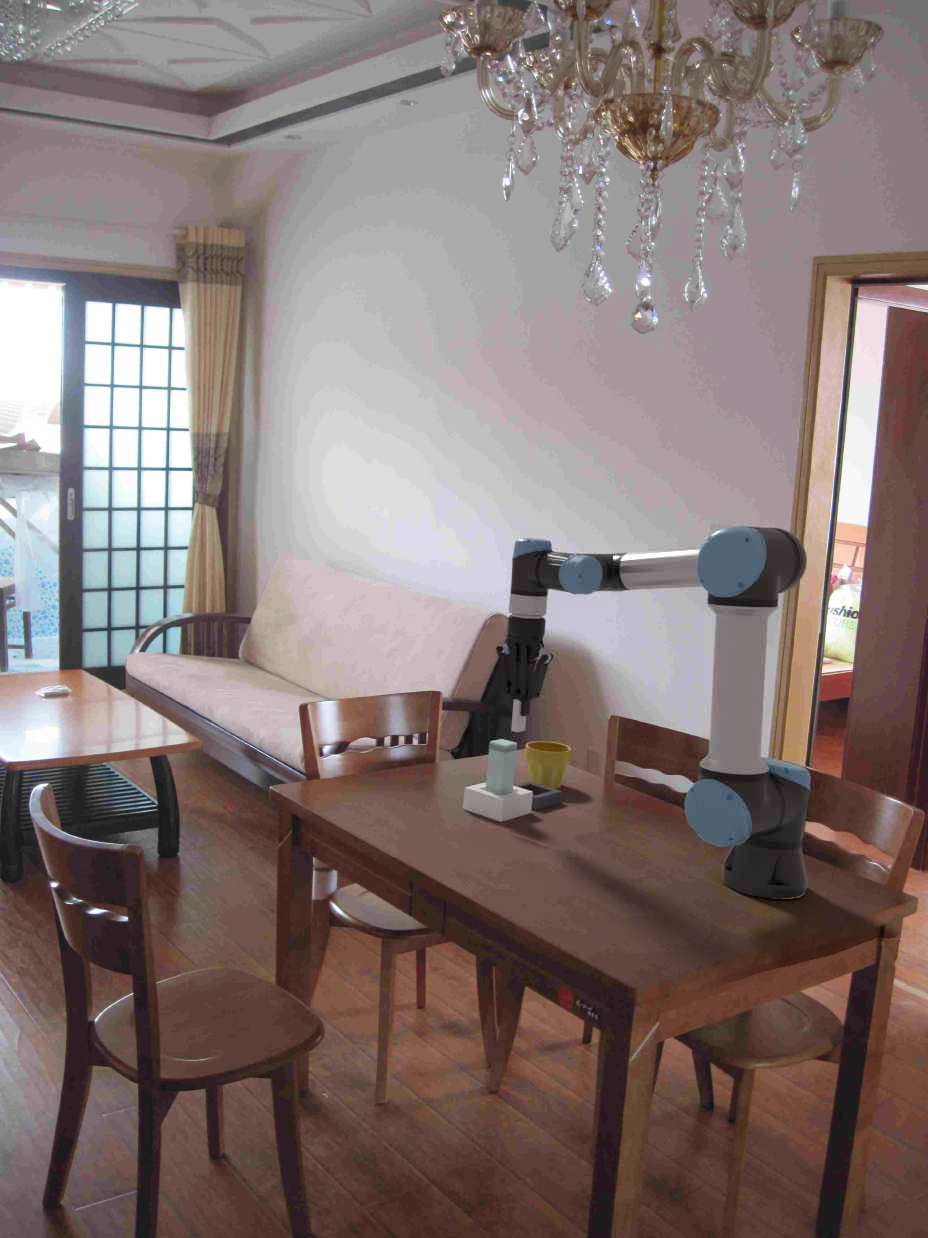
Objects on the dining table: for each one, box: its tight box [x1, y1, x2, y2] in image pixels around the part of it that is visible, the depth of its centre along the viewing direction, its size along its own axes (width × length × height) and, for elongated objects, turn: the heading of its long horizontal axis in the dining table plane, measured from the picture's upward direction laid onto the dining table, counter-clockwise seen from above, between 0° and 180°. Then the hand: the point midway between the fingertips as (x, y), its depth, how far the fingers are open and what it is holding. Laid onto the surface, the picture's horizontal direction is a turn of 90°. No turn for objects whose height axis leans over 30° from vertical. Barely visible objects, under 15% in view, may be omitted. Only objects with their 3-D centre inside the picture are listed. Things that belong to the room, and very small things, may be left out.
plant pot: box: [524, 740, 572, 790], centre depth 259 cm, size 10×10×10 cm
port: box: [462, 781, 533, 822], centre depth 236 cm, size 10×10×6 cm
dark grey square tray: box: [513, 780, 563, 811], centre depth 246 cm, size 9×9×3 cm
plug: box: [485, 738, 518, 796], centre depth 236 cm, size 4×4×14 cm
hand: (518, 730), depth 233 cm, fingers closed
